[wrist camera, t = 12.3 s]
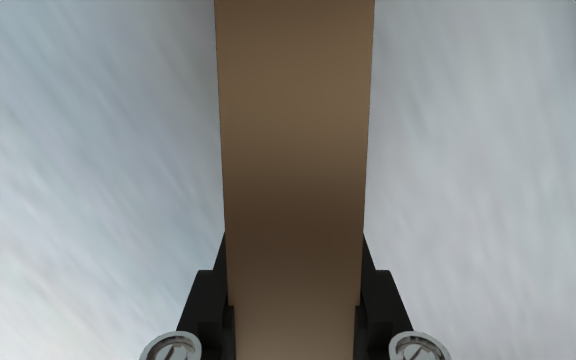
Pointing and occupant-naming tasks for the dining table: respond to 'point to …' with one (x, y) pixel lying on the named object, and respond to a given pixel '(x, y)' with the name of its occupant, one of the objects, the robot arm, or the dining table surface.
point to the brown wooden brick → (294, 171)
